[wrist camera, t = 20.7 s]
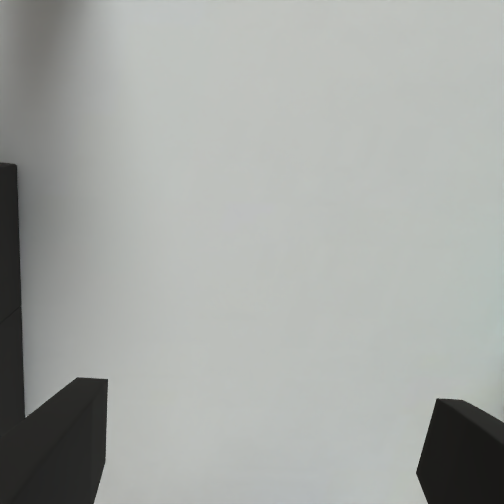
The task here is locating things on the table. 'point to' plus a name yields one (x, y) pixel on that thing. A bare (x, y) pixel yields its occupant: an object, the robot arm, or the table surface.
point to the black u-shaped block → (10, 304)
